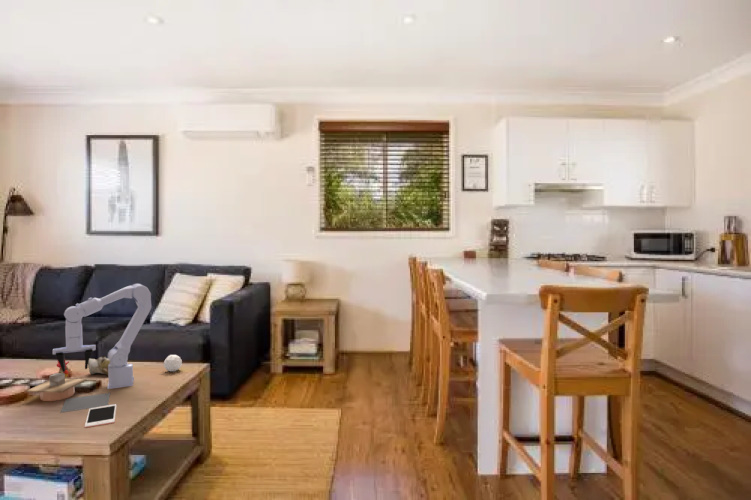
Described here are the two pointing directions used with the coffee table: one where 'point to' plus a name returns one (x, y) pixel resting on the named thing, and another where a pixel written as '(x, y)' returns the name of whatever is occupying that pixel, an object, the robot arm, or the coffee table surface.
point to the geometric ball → (172, 363)
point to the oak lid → (56, 384)
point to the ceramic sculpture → (99, 365)
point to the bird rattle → (65, 369)
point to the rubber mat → (85, 402)
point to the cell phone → (101, 415)
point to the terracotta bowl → (57, 395)
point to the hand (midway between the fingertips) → (75, 369)
